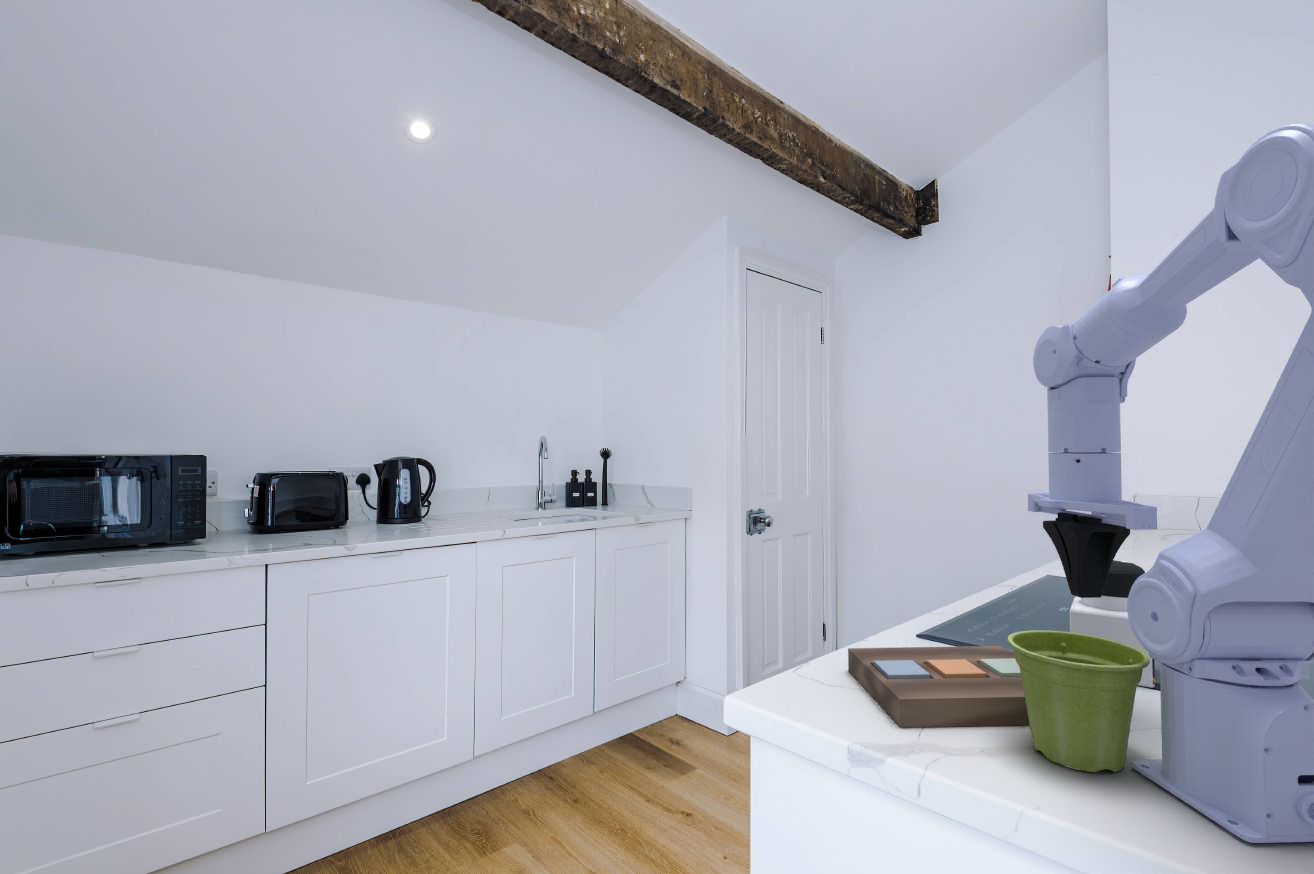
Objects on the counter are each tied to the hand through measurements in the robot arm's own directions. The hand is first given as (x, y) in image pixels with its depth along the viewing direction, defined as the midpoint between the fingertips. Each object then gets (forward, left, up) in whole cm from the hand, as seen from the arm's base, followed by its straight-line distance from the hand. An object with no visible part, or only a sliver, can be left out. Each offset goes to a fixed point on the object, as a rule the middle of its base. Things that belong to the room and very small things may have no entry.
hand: (1086, 595), depth 59 cm
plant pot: (-9, +8, -11) cm, 16 cm away
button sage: (+3, +5, -10) cm, 12 cm away
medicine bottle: (+9, -9, -11) cm, 16 cm away
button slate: (+3, +16, -10) cm, 20 cm away
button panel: (+3, +11, -10) cm, 15 cm away
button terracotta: (+3, +11, -10) cm, 15 cm away
